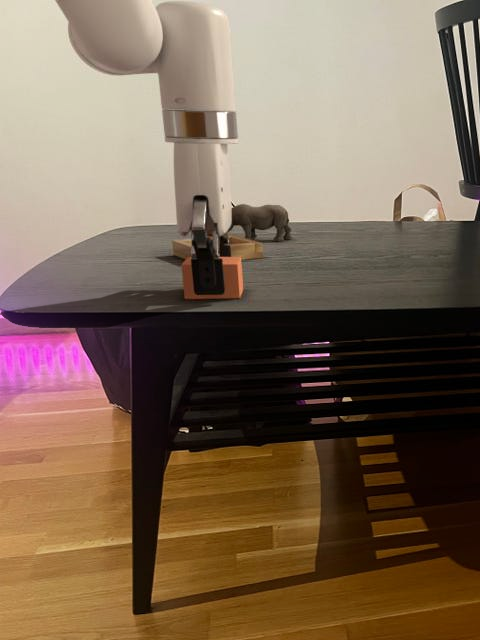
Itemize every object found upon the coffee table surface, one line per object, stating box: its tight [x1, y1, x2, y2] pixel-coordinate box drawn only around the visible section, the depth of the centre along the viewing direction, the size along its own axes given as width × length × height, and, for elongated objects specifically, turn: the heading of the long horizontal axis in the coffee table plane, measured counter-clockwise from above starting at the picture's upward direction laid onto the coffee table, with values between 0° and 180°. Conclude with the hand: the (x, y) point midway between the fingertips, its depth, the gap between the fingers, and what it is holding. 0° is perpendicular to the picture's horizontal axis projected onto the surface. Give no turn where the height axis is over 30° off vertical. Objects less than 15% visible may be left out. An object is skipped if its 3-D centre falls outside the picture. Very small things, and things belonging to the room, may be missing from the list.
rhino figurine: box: [228, 203, 293, 242], centre depth 118 cm, size 4×14×6 cm, turn 107°
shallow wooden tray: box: [171, 234, 264, 261], centre depth 104 cm, size 10×9×2 cm
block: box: [181, 257, 244, 300], centre depth 82 cm, size 6×5×4 cm
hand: (214, 285), depth 82 cm, fingers open, 8 cm apart
